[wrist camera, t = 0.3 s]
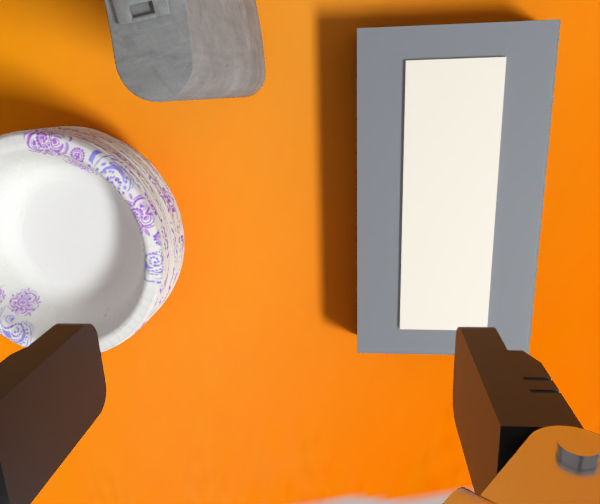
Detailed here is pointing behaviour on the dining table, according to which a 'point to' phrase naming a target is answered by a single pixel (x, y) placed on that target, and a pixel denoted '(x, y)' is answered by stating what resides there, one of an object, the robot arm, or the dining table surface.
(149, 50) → the hip flask
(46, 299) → the paper bowls
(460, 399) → the robot arm
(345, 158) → the dining table surface
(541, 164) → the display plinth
